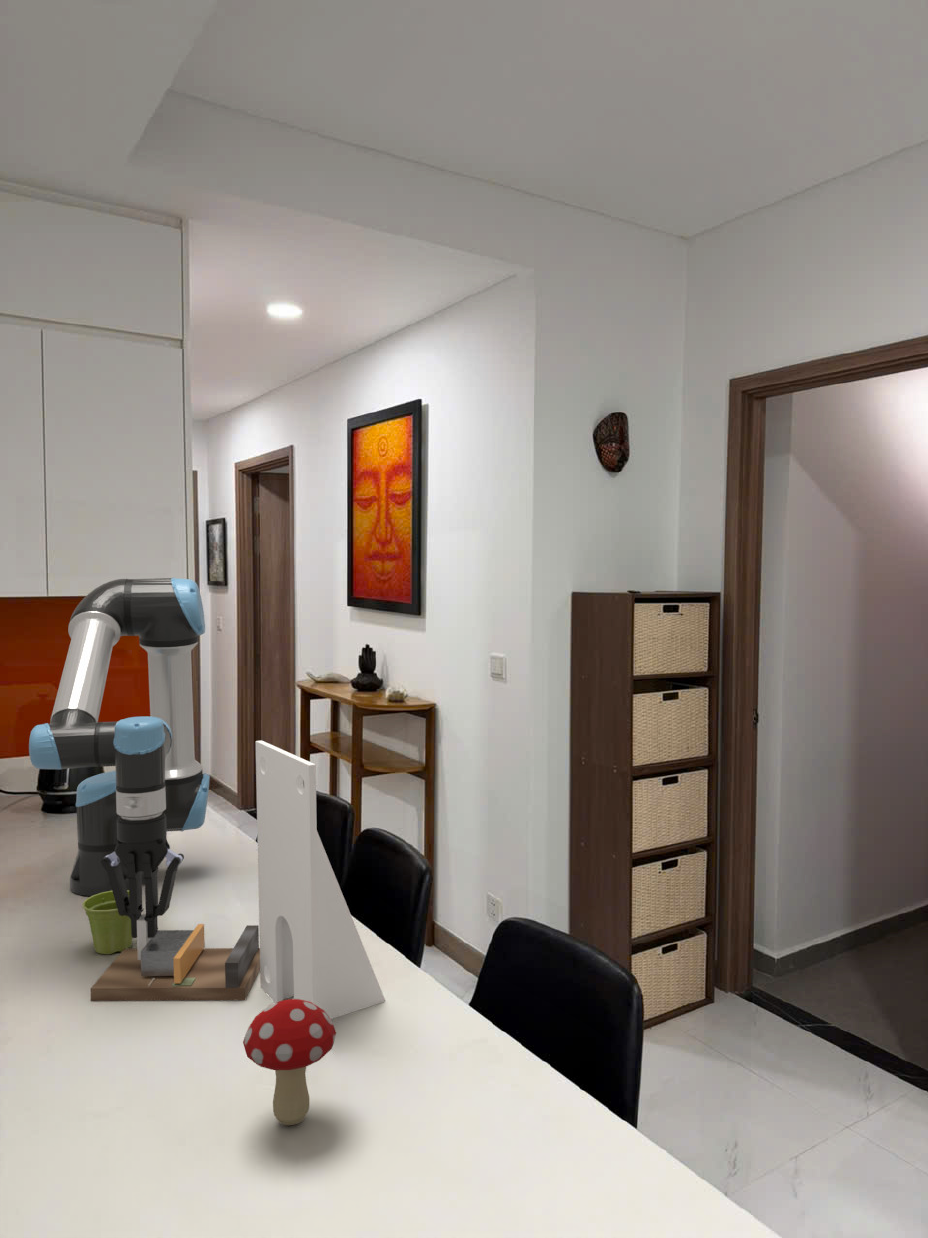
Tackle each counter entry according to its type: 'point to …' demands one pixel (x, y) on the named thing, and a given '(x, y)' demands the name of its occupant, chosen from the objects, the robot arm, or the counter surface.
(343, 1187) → the counter surface
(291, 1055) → the decorative mushroom
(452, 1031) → the counter surface
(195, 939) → the upright wooden plank
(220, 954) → the gauge board
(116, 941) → the plant pot
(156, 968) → the grey foam block
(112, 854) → the robot arm
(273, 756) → the white bracket plate
